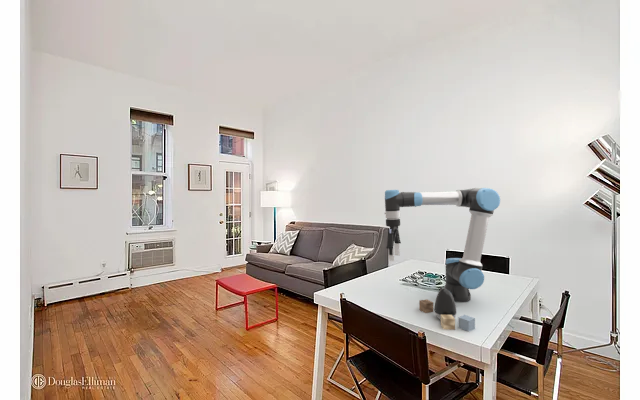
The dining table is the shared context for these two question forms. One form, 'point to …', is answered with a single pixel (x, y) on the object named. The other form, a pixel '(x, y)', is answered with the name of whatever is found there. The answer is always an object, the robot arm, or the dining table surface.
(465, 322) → the slate cube
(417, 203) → the robot arm
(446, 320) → the maple cube
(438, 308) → the black rounded cone
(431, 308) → the walnut cube
